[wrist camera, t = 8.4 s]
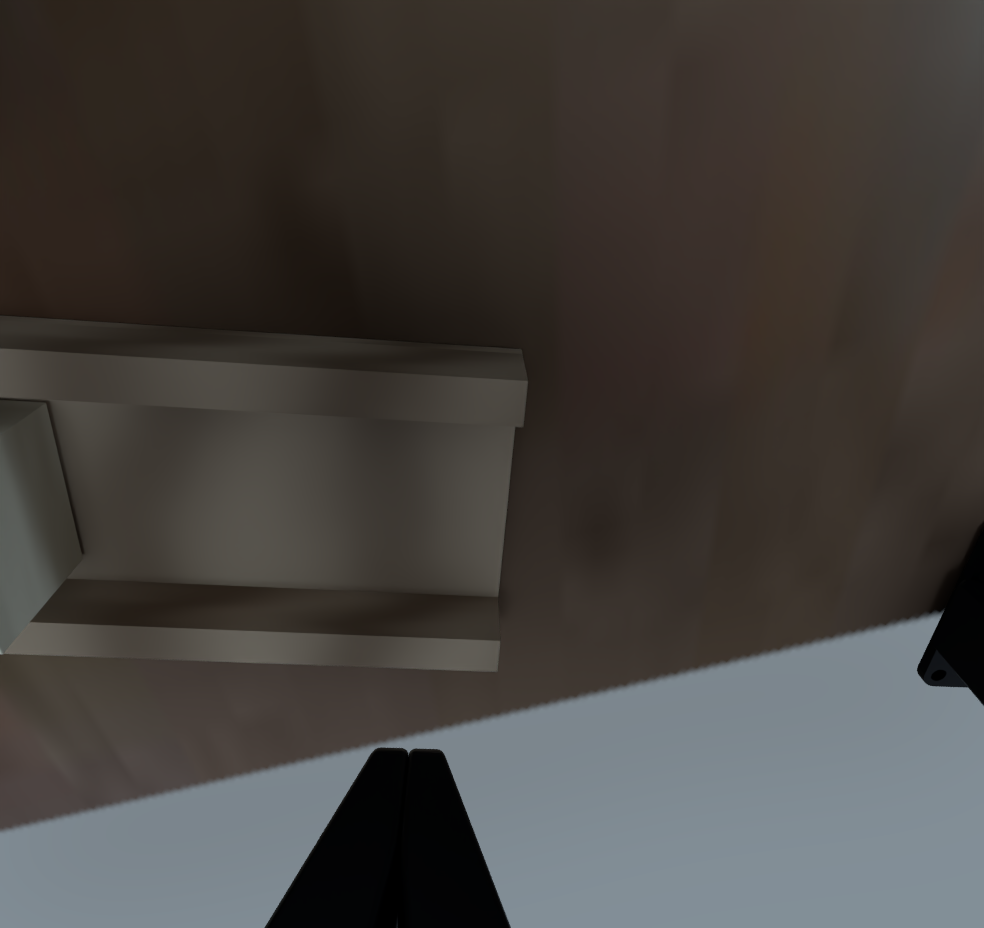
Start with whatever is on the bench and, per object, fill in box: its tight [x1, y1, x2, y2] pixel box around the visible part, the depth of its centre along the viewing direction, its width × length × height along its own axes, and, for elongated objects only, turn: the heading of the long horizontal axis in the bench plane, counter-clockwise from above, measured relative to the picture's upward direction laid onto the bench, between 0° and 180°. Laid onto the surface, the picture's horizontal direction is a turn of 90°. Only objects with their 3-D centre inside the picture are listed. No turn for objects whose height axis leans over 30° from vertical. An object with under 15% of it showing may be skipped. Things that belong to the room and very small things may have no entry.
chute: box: [0, 315, 528, 672], centre depth 19 cm, size 20×9×2 cm, turn 86°
